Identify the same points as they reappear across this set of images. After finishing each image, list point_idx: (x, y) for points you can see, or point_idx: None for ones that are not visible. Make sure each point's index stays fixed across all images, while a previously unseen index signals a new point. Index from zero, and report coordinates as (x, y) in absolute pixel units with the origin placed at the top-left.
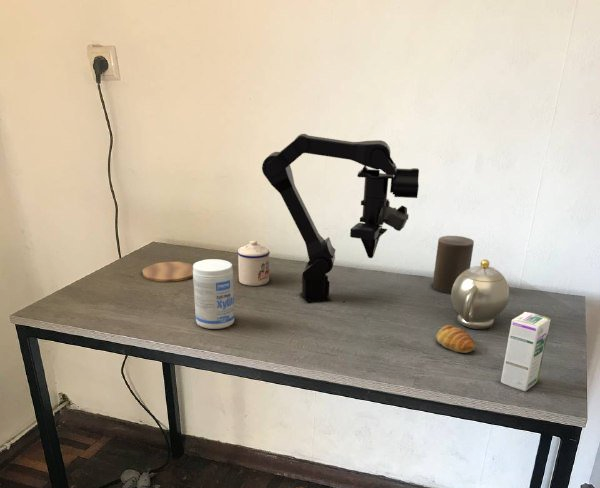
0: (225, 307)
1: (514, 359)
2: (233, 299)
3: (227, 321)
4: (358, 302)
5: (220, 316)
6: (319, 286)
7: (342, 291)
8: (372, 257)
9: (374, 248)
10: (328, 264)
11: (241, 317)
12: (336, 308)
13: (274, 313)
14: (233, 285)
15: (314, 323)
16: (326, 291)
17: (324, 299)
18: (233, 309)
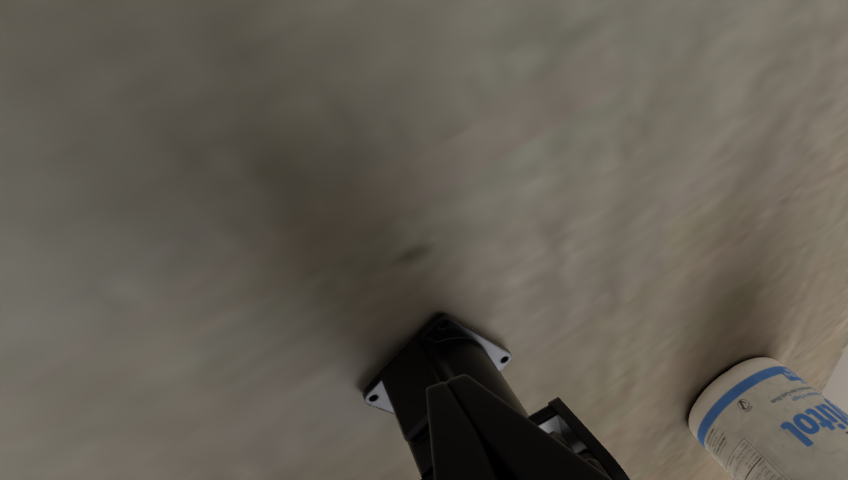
0: (826, 402)
1: None
2: (803, 425)
3: (779, 367)
4: (375, 191)
5: (808, 384)
6: (505, 389)
7: (269, 349)
8: (468, 376)
9: (566, 477)
10: (612, 476)
11: (685, 383)
12: (513, 229)
13: (637, 351)
14: (843, 470)
15: (693, 200)
16: (441, 360)
17: (461, 325)
18: (777, 397)
